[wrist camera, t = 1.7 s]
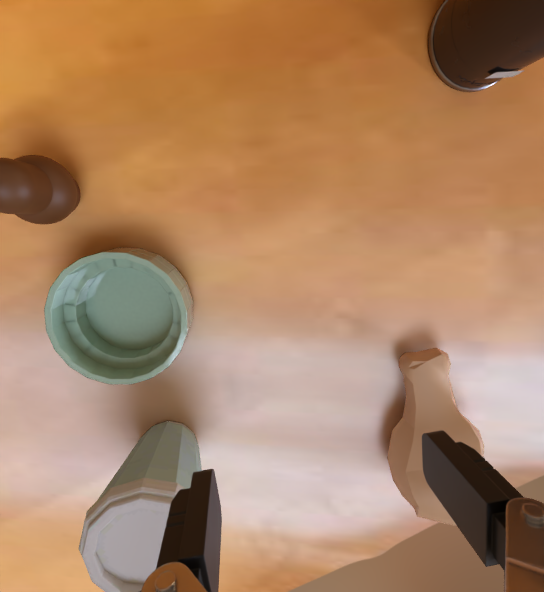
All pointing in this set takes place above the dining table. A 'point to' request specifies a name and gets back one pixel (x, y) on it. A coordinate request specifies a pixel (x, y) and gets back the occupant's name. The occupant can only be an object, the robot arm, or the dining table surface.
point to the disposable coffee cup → (138, 508)
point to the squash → (426, 428)
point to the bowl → (119, 315)
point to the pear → (37, 189)
